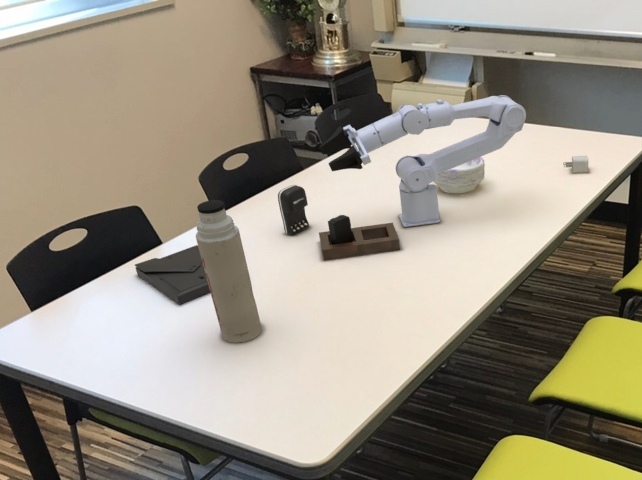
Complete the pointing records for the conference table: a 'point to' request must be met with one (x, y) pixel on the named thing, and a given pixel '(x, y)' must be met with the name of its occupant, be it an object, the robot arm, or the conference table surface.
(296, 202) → the battery charger
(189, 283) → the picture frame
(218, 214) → the thermos bottle
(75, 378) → the conference table surface
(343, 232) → the ink cartridge
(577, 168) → the usb wall charger
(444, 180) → the paper bowls
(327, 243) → the two-well brown tray
